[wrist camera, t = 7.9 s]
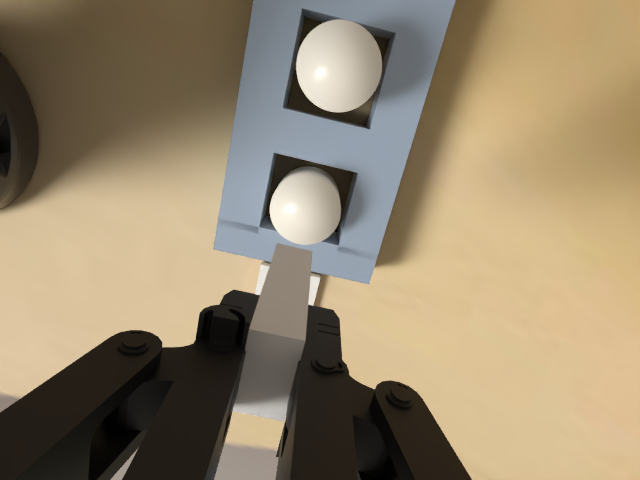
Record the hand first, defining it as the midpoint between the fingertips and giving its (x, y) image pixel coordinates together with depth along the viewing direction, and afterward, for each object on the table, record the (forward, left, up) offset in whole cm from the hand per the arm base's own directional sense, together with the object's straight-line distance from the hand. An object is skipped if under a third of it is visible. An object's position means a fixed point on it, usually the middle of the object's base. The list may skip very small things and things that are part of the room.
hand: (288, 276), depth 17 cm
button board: (+6, +6, -16) cm, 18 cm away
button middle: (+6, +6, -13) cm, 16 cm away
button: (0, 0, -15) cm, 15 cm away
